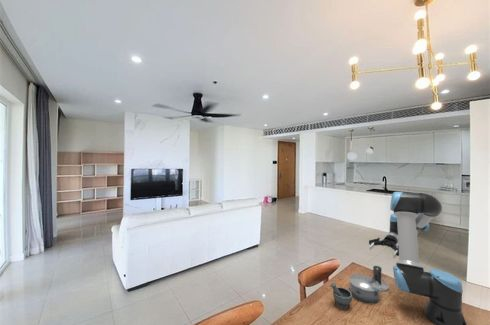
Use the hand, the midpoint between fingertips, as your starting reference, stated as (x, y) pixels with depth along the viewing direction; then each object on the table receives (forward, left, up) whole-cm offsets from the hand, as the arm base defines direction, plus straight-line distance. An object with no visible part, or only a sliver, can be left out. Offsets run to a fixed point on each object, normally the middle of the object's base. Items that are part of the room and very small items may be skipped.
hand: (381, 252), depth 136 cm
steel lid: (-5, +4, -20) cm, 21 cm away
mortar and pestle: (-29, +30, -20) cm, 46 cm away
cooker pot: (-17, +15, -19) cm, 30 cm away
